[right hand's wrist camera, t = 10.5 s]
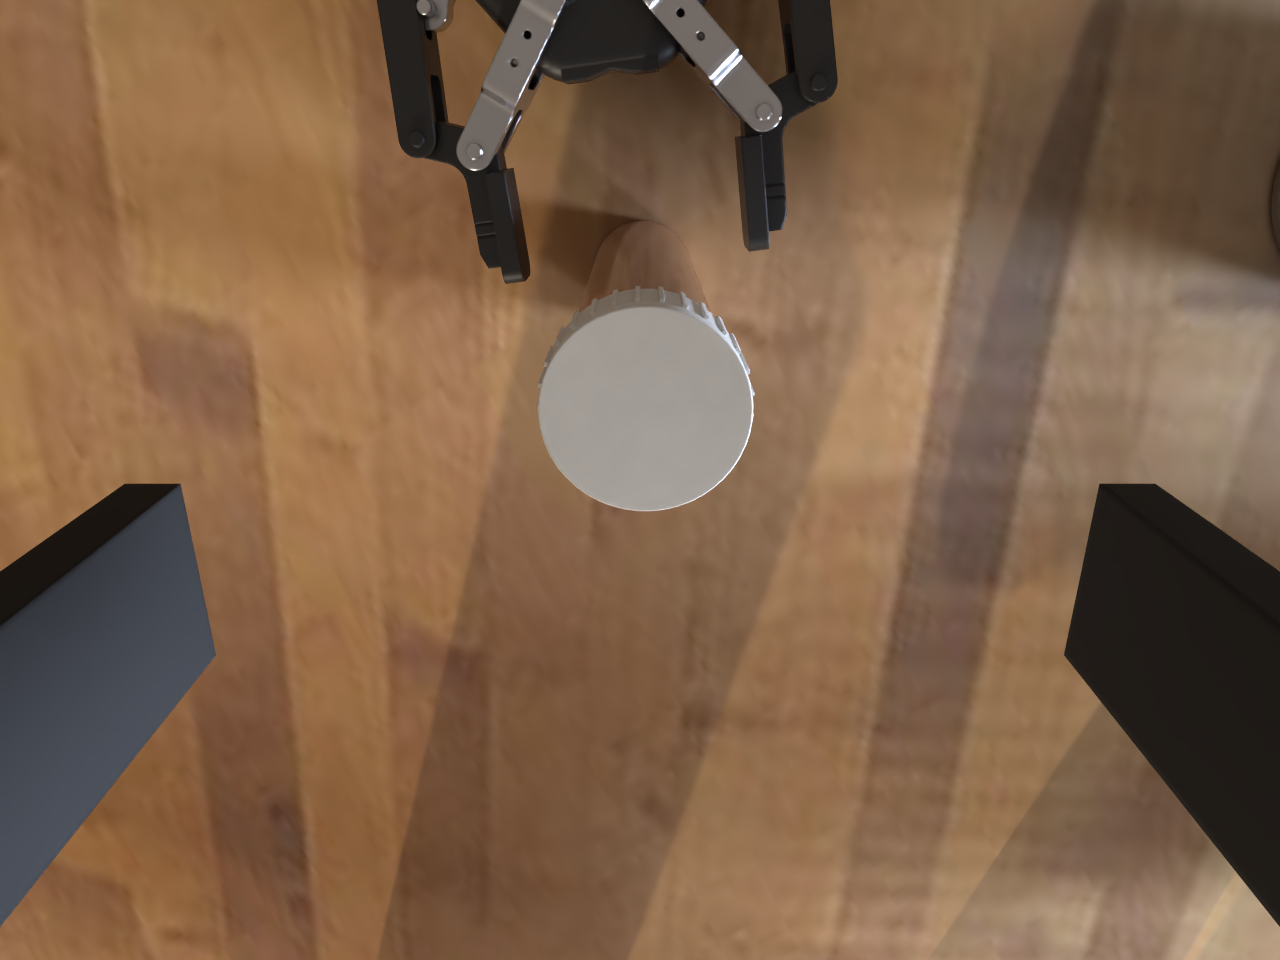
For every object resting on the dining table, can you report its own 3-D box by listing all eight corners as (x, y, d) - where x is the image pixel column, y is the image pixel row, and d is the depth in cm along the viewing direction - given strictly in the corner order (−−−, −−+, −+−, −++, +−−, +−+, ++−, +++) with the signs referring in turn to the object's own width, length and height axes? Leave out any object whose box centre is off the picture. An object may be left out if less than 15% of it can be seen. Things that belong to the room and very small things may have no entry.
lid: (529, 460, 22) (518, 493, 20) (562, 265, 20) (553, 280, 18) (720, 496, 22) (727, 532, 20) (768, 307, 20) (781, 327, 18)
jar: (586, 308, 38) (538, 475, 20) (604, 211, 37) (569, 296, 19) (679, 327, 38) (715, 508, 20) (701, 231, 37) (758, 334, 19)
